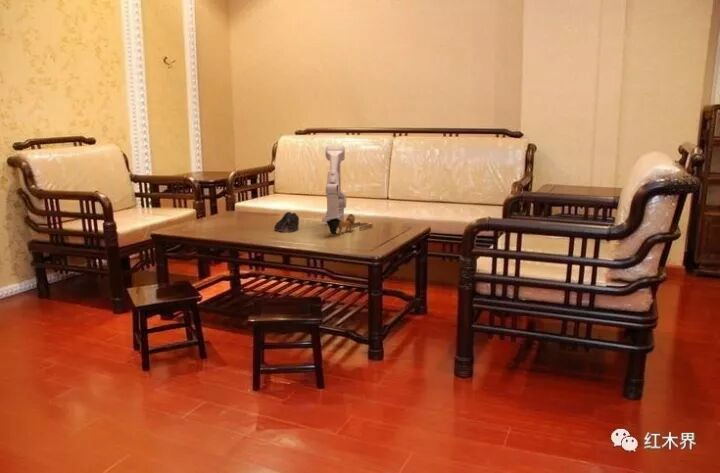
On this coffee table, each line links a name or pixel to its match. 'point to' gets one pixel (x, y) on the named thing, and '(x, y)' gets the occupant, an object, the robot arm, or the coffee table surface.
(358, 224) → the wooden frame
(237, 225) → the coffee table surface
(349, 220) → the lion figurine
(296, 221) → the crystal cluster
